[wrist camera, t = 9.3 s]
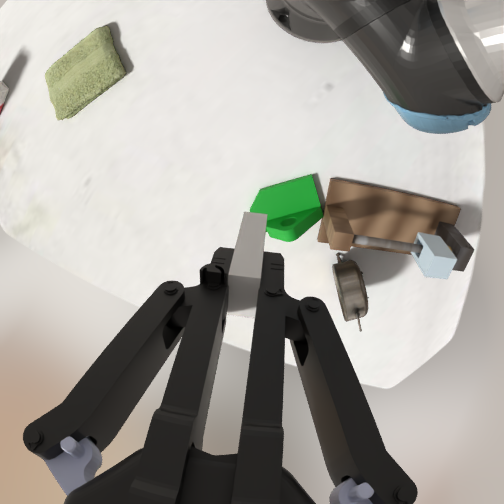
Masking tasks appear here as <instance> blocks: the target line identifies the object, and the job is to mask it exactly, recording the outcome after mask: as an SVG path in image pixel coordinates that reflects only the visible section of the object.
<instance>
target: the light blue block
mask: <svg viewBox="0 0 504 504" xmlns="http://www.w3.org/2000/svg"><path fill="white" fill-rule="evenodd" d="M414 244H420V245H423V246H424V247H423V249H422V251H421V253H416V252H411V254H412V255H413V257H414V259H415V261H416V262H417V264H418V266H419V268H420V269H421V271H422V273H423V275H424V276H425V277H431V278H440V279H448V277H449V275H450V273H451V271H452V269H453V267H454V265H455V263H456V261H457V258H456V257H455V255H454V254H453V253H452V251H451V250H450V249H449V247H448V246H447V245H446V243H445V242H444V241H443V240H442V238H441V237H440V236H436V235H431V234H426V233H420V232H418V234H417V236H416V239H415V241H414Z"/></svg>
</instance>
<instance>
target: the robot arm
mask: <svg viewBox="0 0 504 504" xmlns="http://www.w3.org/2000/svg"><path fill="white" fill-rule="evenodd" d="M266 3H267V8H268V11H269V13H270V15H271V17H272V18H273V20H274V21H275V22H276V23H277V24H278V25H279V26H280V27H281V28H282V29H283V30H284V31H286V32H287V33H289V34H291V35H292V36H294V37H297V38H299V39H302V40H305V41H309V42H315V43H330V42H335V41H339V40H342V41H343V42H344V43H345V44H346V45H347V46H348V48H349V49H350V50H351V51H352V52H353V53H354V55H355V56H356V57H357V58H358V59H359V61H360V62H361V63H362V64H363V66H364V67H365V68H366V69H367V71H368V72H369V73H370V74H371V76H372V77H373V78H374V80H375V81H376V82H377V84H378V85H379V87H380V88H381V89H382V91H383V93H384V96H385V98H386V99H387V101H388V102H390V104H391V105H392V106H394V107H395V109H396V110H397V112H398V113H399V114H400V116H401V117H402V119H403V120H404V121H405V122H406V123H407V124H408V125H410V126H411V127H413V128H415V129H417V130H419V131H422V132H427V133H434V134H446V133H454V132H459V131H463V130H466V129H468V125H474V126H476V125H478V124H479V123H481V122H482V121H484V120H485V119H486V117H487V116H488V115H489V113H490V111H491V103H496V102H499V101H500V100H501V98H502V96H503V94H504V0H266ZM344 38H345V39H344ZM266 223H267V214H261V213H252V212H244V215H243V219H242V223H241V227H240V231H239V235H238V238H237V242H236V246H235V249H232V248H223V247H219V248H218V249H217V250H216V251H215V252H214V255H213V258H212V261H211V264H207V265H205V266H203V267H202V268H201V269H200V285H197V286H194V287H187V288H184V286H183V285H182V284H181V283H180V282H178V281H167V282H164V283H162V284H161V285H160V286H159V287H158V288H157V289H156V290H155V291H154V293H153V294H152V295H151V296H150V297H149V298H148V299H147V300H146V302H145V303H144V304H143V305H142V306H141V307H140V308H139V310H138V311H137V312H136V313H135V314H134V316H133V317H132V318H131V319H130V320H129V321H128V322H127V324H126V325H125V326H124V327H123V328H122V329H121V331H120V332H119V333H118V334H117V336H116V337H115V338H114V339H113V340H112V341H111V342H110V344H109V345H108V346H107V347H106V349H105V350H104V351H103V352H102V353H101V355H100V356H99V357H98V358H97V359H96V361H95V362H94V363H93V364H92V366H91V367H90V368H89V370H88V371H87V372H86V373H85V375H84V376H83V377H82V378H81V379H80V381H79V382H78V383H77V384H76V386H75V387H74V388H73V390H72V391H71V392H70V393H69V395H68V396H67V397H66V399H65V400H64V401H63V402H62V403H61V404H60V405H58V406H57V407H55V408H54V409H52V410H51V411H49V412H48V413H46V414H44V415H43V416H41V417H40V418H38V419H37V420H35V421H34V422H32V423H30V424H29V425H28V426H27V427H26V428H25V430H24V433H23V441H24V444H25V446H26V447H27V449H28V450H29V451H31V452H33V453H34V454H36V455H38V456H39V457H41V458H42V459H43V460H44V461H45V462H46V464H47V466H48V467H49V469H50V471H51V472H52V474H53V476H54V477H55V479H56V480H57V482H58V483H59V485H60V486H61V488H62V489H63V490H64V492H65V493H66V495H67V498H66V499H65V502H64V504H316V503H315V502H314V501H313V500H312V499H311V497H310V496H309V495H308V494H307V493H306V491H305V490H304V489H303V488H302V486H301V485H300V484H299V483H298V481H297V480H296V479H295V478H294V477H293V475H292V474H291V473H290V472H289V471H288V470H286V469H285V468H283V467H282V458H283V439H284V431H283V427H282V409H283V383H284V353H285V338H288V339H290V343H291V346H292V350H293V353H294V357H295V360H296V363H297V367H298V370H299V373H300V377H301V380H302V384H303V387H304V390H305V394H306V397H307V401H308V404H309V408H310V411H311V414H312V418H313V421H314V425H315V428H316V432H317V435H318V439H319V442H320V446H321V449H322V453H323V456H324V460H325V463H326V466H327V470H328V472H329V475H330V477H331V479H332V481H333V483H334V485H335V487H336V488H335V489H333V491H332V492H331V495H330V504H413V503H414V502H415V500H416V497H417V487H416V485H415V483H414V482H413V481H412V480H411V479H410V478H409V476H408V475H407V474H406V473H405V472H404V471H403V469H402V468H401V467H400V466H399V465H398V464H397V463H396V462H395V460H394V459H393V458H392V457H391V456H390V455H389V453H388V452H387V451H386V449H385V446H384V443H383V441H382V438H381V436H380V433H379V430H378V428H377V425H376V422H375V420H374V417H373V415H372V412H371V410H370V407H369V405H368V402H367V400H366V397H365V395H364V392H363V390H362V387H361V385H360V383H359V380H358V378H357V375H356V373H355V371H354V368H353V366H352V364H351V361H350V359H349V357H348V354H347V352H346V350H345V347H344V345H343V343H342V340H341V338H340V336H339V334H338V331H337V329H336V327H335V325H334V322H333V320H332V318H331V316H330V314H329V311H328V309H327V307H326V305H325V303H324V302H323V301H322V300H320V299H318V298H316V297H305V298H303V299H302V300H301V301H299V300H296V299H294V298H292V297H290V296H289V295H288V294H287V293H286V292H285V290H284V258H283V257H282V255H281V253H272V252H264V242H265V233H266ZM226 315H232V316H240V317H248V318H255V322H254V330H253V338H252V346H251V354H250V363H249V371H248V379H247V386H246V394H245V402H244V411H243V418H242V425H241V433H240V440H239V447H238V454H229V455H217V456H215V455H211V454H208V453H206V452H204V451H202V445H203V435H204V430H205V424H206V419H207V414H208V409H209V404H210V398H211V394H212V389H213V384H214V379H215V374H216V369H217V364H218V359H219V354H220V349H221V345H222V340H223V335H224V330H225V325H226ZM181 337H182V339H181ZM180 339H181V343H180V345H179V348H178V352H177V355H176V358H175V361H174V364H173V368H172V371H171V374H170V377H169V380H168V383H167V387H166V390H165V394H164V397H163V400H162V403H161V406H160V408H159V409H157V410H156V411H155V412H154V414H153V417H152V420H151V423H150V427H149V430H148V434H147V437H146V441H145V444H144V448H142V449H140V450H138V451H136V452H134V453H133V454H131V455H130V456H128V457H127V458H125V459H124V460H122V461H121V462H119V463H118V464H116V465H115V466H113V467H112V468H110V469H108V470H107V471H105V472H104V473H102V474H100V475H99V476H97V477H95V478H94V476H95V473H96V471H97V470H98V469H99V468H100V467H101V465H102V456H101V452H102V451H103V450H104V449H105V448H106V447H107V446H108V445H109V444H110V443H111V442H112V440H113V439H114V438H115V436H116V435H117V434H118V432H119V430H120V429H121V427H122V426H123V424H124V423H125V421H126V420H127V418H128V417H129V415H130V414H131V412H132V411H133V409H134V408H135V406H136V405H137V403H138V402H139V400H140V399H141V397H142V396H143V394H144V393H145V391H146V390H147V388H148V387H149V385H150V384H151V382H152V380H153V379H154V377H155V376H156V375H157V373H158V372H159V370H160V369H161V367H162V366H163V364H164V363H165V361H166V360H167V358H168V357H169V355H170V354H171V352H172V351H173V349H174V348H175V346H176V345H177V343H178V342H179V340H180Z"/></svg>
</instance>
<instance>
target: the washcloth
mask: <svg viewBox="0 0 504 504" xmlns="http://www.w3.org/2000/svg"><path fill="white" fill-rule="evenodd" d="M112 43H113V39H112V37H111V33H110V29H109V28H108V26H104V27H99V28H96V29H95V30H94V31H92V32H91V33H90V34H89V35H88V36H87V37H86V38H84V39H83V40H81V41H80V42H79V43H78V44H77V45H75V46H74V47H73V48H72V49H71V50H69V51H68V52H67V53H66V54H65V55H63V57H62V58H60V59H58V60H57V61H56V62H55V63H54V64H53V65H52V66H51V67H50V68H49V69H48V70H47V72H46V73H45V79H46V83H47V85H48V90H49V96H50V101H51V102H52V104H53V106H54V108H55V112H56V118H57V120H63V119H64V118H67V119H69V118H71V117H73V116H75V114H76V113H78V112H79V111H80V110H82V109H83V108H84V107H85V106H86V105H87V104H89V103H90V102H91V101H93V100H94V99H95V98H96V97H98V96H99V95H101V93H103V92H105V91H106V90H107V89H108V88H110V87H111V86H112V85H113V84H115V83H116V82H117V81H118V80H120V79H121V78H123V76H124V75H125V74H126V72H125V70H124V67H123V66H122V63H121V60H120V58H119V55H118V54H117V53H116V51H115V49H114V46H113V44H112Z"/></svg>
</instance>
